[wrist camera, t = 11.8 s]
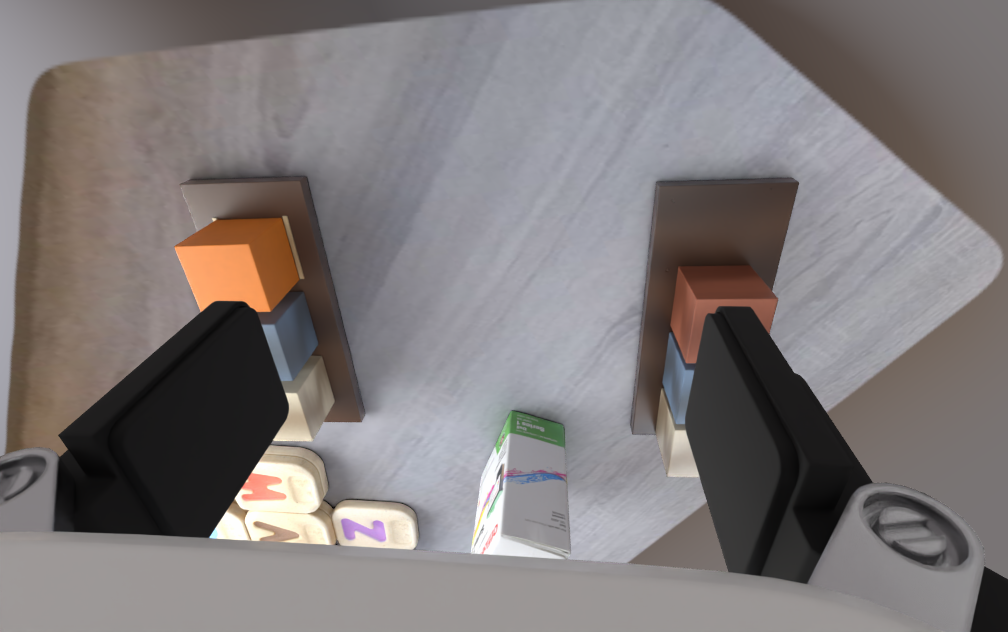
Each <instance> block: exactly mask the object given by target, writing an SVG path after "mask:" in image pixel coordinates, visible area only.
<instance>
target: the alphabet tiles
mask: <svg viewBox="0 0 1008 632" xmlns="http://www.w3.org/2000/svg"><path fill="white" fill-rule="evenodd" d="M327 491H328V481H327V477H326V473H325V468H324V464H323V461H322V460H321V458H320V457H319V456H318V455H317V454H315V453H314V452H312V451H310V450H308V449H304V448H300V447H289V446H274V445H269V447H268V449H267V450H266V452H265V453H264V455H263V456H262V458H261V459H260V461H259V462H258V464H257V465H256V467H255V468H254V470H253V472H252V473H251V475H250V476H249V478H248V479H247V481H246V482H245V484H244V485H243V487H242V488H241V490H240V492H239V493H238V495H237V496H236V498H235V499H234V501H233V502H232V504H231V505H230V507H229V508H228V510H227V511H226V513H225V515H224V516H223V518H222V519H221V521H220V522H219V524H218V525H217V527H216V528H215V530H214V531H213V533H212V534H211V536H210V538H216V539H234V540H253V541H272V542H290V543H307V544H324V545H335V543H336V541H337V539H338V542H339V543H340V545H342V546H359V547H376V548H393V549H409V550H413V549H414V548H415V547H416V546H417V542H418V538H419V532H418V524H417V517H416V514H415V512H414V511H413V510H412V509H411V508H409V507H408V506H406V505H404V504H400V503H394V502H381V501H362V500H345V501H341V502H340V503H339V504H337V505H336V507H335V509H333V508H332V507H331V506H330V505H329V504H328V503H327V502H325V501H323V498H324V497H325V495H326V493H327Z"/></svg>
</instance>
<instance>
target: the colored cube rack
mask: <svg viewBox="0 0 1008 632" xmlns="http://www.w3.org/2000/svg"><path fill="white" fill-rule="evenodd" d="M798 185H799V182H798V181H796V180H794V179H793V178H772V179H738V180H703V181H669V182H656V190H655V199H654V209H653V218H652V228H651V237H650V247H649V256H648V266H647V275H646V285H645V294H644V304H643V313H642V322H641V332H640V341H639V351H638V360H637V370H636V379H635V389H634V398H633V408H632V417H631V430H632V434H633V435H656V437H657V441H658V445H659V449H660V452H661V456H662V460H663V463H664V467H665V471H666V474H667V477H699V473H698V470H697V467H696V463H695V460H694V457H693V454H692V450H691V447H690V444H689V440H688V437H687V434H686V428H685V415H686V410H687V405H688V400H689V395H690V390H691V385H692V380H693V375H694V370H695V365H696V360H697V355H698V350H699V345H700V340H701V335H702V330H703V325H704V321H705V317H706V315H707V314H708V313H715V311H716V309H717V308H718V307H719V306H748V307H751V308H752V309H753V310H754V312H755V313H756V315H757V317H758V318H759V320H760V321H761V323H762V324H763V326H764V327H765V329H766V330H767V332H768V334H769V333H770V329H771V325H772V321H773V317H774V313H775V310H776V306H777V302H778V298H777V297H776V295H775V294H774V293H773V292H772V289H773V285H774V281H775V277H776V273H777V269H778V265H779V261H780V257H781V253H782V249H783V245H784V241H785V237H786V233H787V229H788V225H789V221H790V217H791V213H792V209H793V205H794V201H795V197H796V193H797V189H798Z"/></svg>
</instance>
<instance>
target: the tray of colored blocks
mask: <svg viewBox="0 0 1008 632" xmlns="http://www.w3.org/2000/svg"><path fill="white" fill-rule="evenodd" d="M180 187H181V190H182V193H183V195H184V198H185V200H186V203H187V206H188V208H189V211H190V214H191V216H192V219H193V222H194V224H195V227H196V230H197V232H198V231H199V230H201V229H203V228H204V227H206V226H207V225H209V224H210V223H212V222H214V221H215V220H231V219H260V218H282V220H283V224H284V227H285V231H286V234H287V238H288V241H289V245H290V248H291V252H292V255H293V259H294V262H295V266H296V269H297V273H298V276H299V281H298V282H297V283H296V284H295V285H294V286H293V287H292V288H291V290H290V291H289V292H288V293H287V294H286V295H285V296H284V297H283V299H282V300H281V301H280V302H279V303H278V304H277V305H276V306H275V308H274V309H273V310H272V311H271V312H257V314H258V316H259V319H260V322H261V325H262V328H263V330H264V333H265V336H266V339H267V342H268V345H269V348H270V351H271V353H272V356H273V359H274V362H275V365H276V368H277V371H278V374H279V377H280V379H281V382H282V385H283V388H284V391H285V394H286V397H287V400H288V403H289V414H288V417H287V419H286V421H285V422H284V424H283V426H282V427H281V429H280V430H279V432H278V433H277V435H276V436H275V438H274V439H273V441H313V440H314V438H315V437H316V435H317V433H318V431H319V429H320V427H321V426H322V424H323V422H362V420H363V418H364V416H365V411H364V407H363V403H362V399H361V395H360V391H359V387H358V383H357V379H356V375H355V371H354V367H353V363H352V359H351V355H350V351H349V347H348V343H347V339H346V335H345V331H344V327H343V323H342V319H341V315H340V311H339V307H338V302H337V298H336V294H335V290H334V286H333V282H332V278H331V274H330V270H329V266H328V262H327V258H326V254H325V250H324V246H323V242H322V238H321V234H320V230H319V226H318V222H317V218H316V214H315V210H314V206H313V202H312V198H311V194H310V190H309V185H308V181H307V177H274V178H242V179H211V180H188V181H186V182H184V183H182V184H180Z"/></svg>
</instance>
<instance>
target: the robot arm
mask: <svg viewBox="0 0 1008 632" xmlns="http://www.w3.org/2000/svg"><path fill="white" fill-rule="evenodd" d="M288 414H289V403H288V400H287V397H286V394H285V391H284V388H283V385H282V382H281V379H280V377H279V374H278V371H277V368H276V365H275V362H274V359H273V356H272V353H271V351H270V348H269V345H268V342H267V339H266V336H265V333H264V330H263V328H262V325H261V322H260V319H259V316H258V314H257V312H256V310H255V309H253V308H250V306H249V305H248V304H247V303H246V302H244V301H214V302H213V303H211V304H210V305H209V306H208V307H206V308H205V309H204V310H203V311H202V312H201V313H199V314H198V315H197V316H196V317H195V318H194V319H192V320H191V321H190V322H189V323H188V324H187V325H185V326H184V327H183V328H182V329H181V330H180V331H179V332H177V333H176V334H175V335H174V336H173V337H172V338H170V339H169V340H168V341H167V342H166V343H165V344H163V345H162V346H161V347H160V348H159V349H158V350H156V351H155V352H154V353H153V354H152V355H151V356H150V357H148V358H147V359H146V360H145V361H144V362H143V363H141V364H140V365H139V366H138V367H137V368H136V369H134V370H133V371H132V372H131V373H130V374H129V375H128V376H126V377H125V378H124V379H123V380H122V381H121V382H119V383H118V384H117V385H116V386H115V387H114V388H112V389H111V390H110V391H109V392H108V393H107V394H105V395H104V396H103V397H102V398H101V399H100V400H99V401H97V402H96V403H95V404H94V405H93V406H92V407H90V408H89V409H88V410H87V411H86V412H85V413H83V414H82V415H81V416H80V417H79V418H78V419H76V420H75V421H74V422H73V423H72V424H71V425H70V426H68V427H67V428H66V429H65V430H64V431H63V432H61V433H60V434H59V435H58V436H59V437H60V438H61V440H62V441H63V443H64V444H65V446H66V447H67V449H68V450H67V451H66V452H65V453H64V454H63V455H62V456H61V457H59V456H58V454H57V453H56V452H54V451H53V450H51V449H50V448H42V447H35V448H27V449H22V450H18V451H15V452H11V453H8V454H5V455H3V456H1V457H0V632H1008V579H1006V578H1004V577H1003V576H1001V575H999V574H997V573H995V572H994V571H992V570H990V569H988V568H986V567H985V566H984V565H985V555H984V548H983V546H982V544H981V542H980V540H979V538H978V536H977V534H976V533H975V532H974V530H973V529H972V528H971V527H970V526H969V525H968V524H967V523H966V521H965V520H964V519H963V518H962V517H961V516H959V515H958V514H957V513H955V512H954V511H953V510H952V509H950V508H949V507H948V506H946V505H945V504H943V503H941V502H940V501H938V500H936V499H934V498H932V497H931V496H929V495H927V494H925V493H922V492H919V491H917V490H914V489H912V488H909V487H906V486H902V485H897V484H891V483H873V482H872V481H871V479H870V478H869V476H868V475H867V473H866V471H865V470H864V468H863V467H862V465H861V464H860V462H859V461H858V460H857V458H856V457H855V455H854V453H853V452H852V451H851V449H850V447H849V446H848V444H847V443H846V441H845V440H844V438H843V437H842V436H841V434H840V432H839V431H838V429H837V428H836V426H835V425H834V423H833V422H832V420H831V419H830V418H829V416H828V414H827V413H826V411H825V410H824V408H823V407H822V405H821V404H820V402H819V401H818V399H817V398H816V396H815V395H814V393H813V392H812V390H811V389H810V387H809V386H808V384H807V383H806V381H805V380H804V379H803V378H802V377H801V376H800V375H798V374H795V373H794V372H793V371H792V369H791V367H790V366H789V364H788V363H787V361H786V360H785V358H784V357H783V355H782V354H781V352H780V351H779V349H778V347H777V346H776V344H775V343H774V341H773V340H772V338H771V337H770V335H769V334H768V332H767V330H766V329H765V327H764V326H763V324H762V323H761V321H760V320H759V318H758V317H757V315H756V313H755V312H754V310H753V309H752V308H751V307H748V306H719V307H718V308H717V309H716V311H715V313H708V314H707V315H706V317H705V321H704V325H703V330H702V335H701V340H700V345H699V350H698V355H697V360H696V365H695V370H694V375H693V380H692V385H691V390H690V395H689V400H688V405H687V410H686V415H685V428H686V434H687V437H688V440H689V444H690V447H691V450H692V454H693V457H694V460H695V463H696V467H697V470H698V473H699V477H700V480H701V483H702V486H703V490H704V493H705V496H706V500H707V503H708V506H709V509H710V512H711V516H712V519H713V522H714V526H715V529H716V532H717V535H718V539H719V542H720V545H721V549H722V552H723V555H724V559H725V562H726V565H727V568H728V572H723V571H713V570H700V569H688V568H676V567H664V566H650V565H638V564H626V563H614V562H599V561H583V560H568V559H552V558H537V557H521V556H506V555H490V554H475V553H459V552H443V551H426V550H409V549H393V548H376V547H359V546H342V545H324V544H307V543H290V542H272V541H253V540H234V539H216V538H210V536H211V534H212V533H213V531H214V530H215V528H216V527H217V525H218V524H219V522H220V521H221V519H222V518H223V516H224V515H225V513H226V511H227V510H228V508H229V507H230V505H231V504H232V502H233V501H234V499H235V498H236V496H237V495H238V493H239V492H240V490H241V488H242V487H243V485H244V484H245V482H246V481H247V479H248V478H249V476H250V475H251V473H252V472H253V470H254V468H255V467H256V465H257V464H258V462H259V461H260V459H261V458H262V456H263V455H264V453H265V452H266V450H267V449H268V447H269V445H270V444H271V442H272V441H273V439H274V438H275V436H276V435H277V433H278V432H279V430H280V429H281V427H282V426H283V424H284V422H285V421H286V419H287V417H288Z"/></svg>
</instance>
